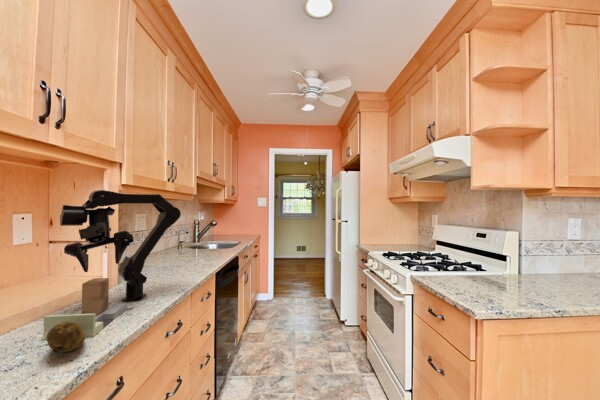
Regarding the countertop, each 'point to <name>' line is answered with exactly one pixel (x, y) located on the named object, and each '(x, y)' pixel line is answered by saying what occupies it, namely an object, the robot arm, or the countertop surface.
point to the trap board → (86, 319)
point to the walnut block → (95, 296)
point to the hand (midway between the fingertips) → (101, 267)
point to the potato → (65, 337)
